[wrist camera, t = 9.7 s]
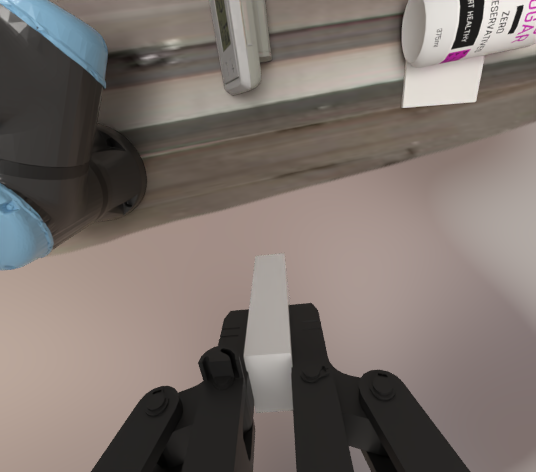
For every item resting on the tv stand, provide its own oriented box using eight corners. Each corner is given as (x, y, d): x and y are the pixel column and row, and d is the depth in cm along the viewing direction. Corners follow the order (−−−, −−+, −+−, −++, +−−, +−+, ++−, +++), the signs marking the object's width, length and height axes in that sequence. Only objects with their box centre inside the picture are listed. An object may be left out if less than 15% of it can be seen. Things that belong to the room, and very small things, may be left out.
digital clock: (204, -55, 36) (177, -112, 26) (278, -49, 36) (278, -104, 26) (207, 93, 43) (186, 91, 33) (269, 98, 43) (266, 97, 33)
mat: (401, 107, 43) (402, 107, 42) (415, -35, 36) (417, -38, 35) (473, 101, 42) (475, 101, 41) (501, -45, 35) (504, -47, 35)
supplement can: (394, 34, 40) (513, 9, 38) (409, 84, 38) (536, 60, 36) (415, -34, 32) (565, -69, 31) (436, 23, 30) (598, -11, 28)
